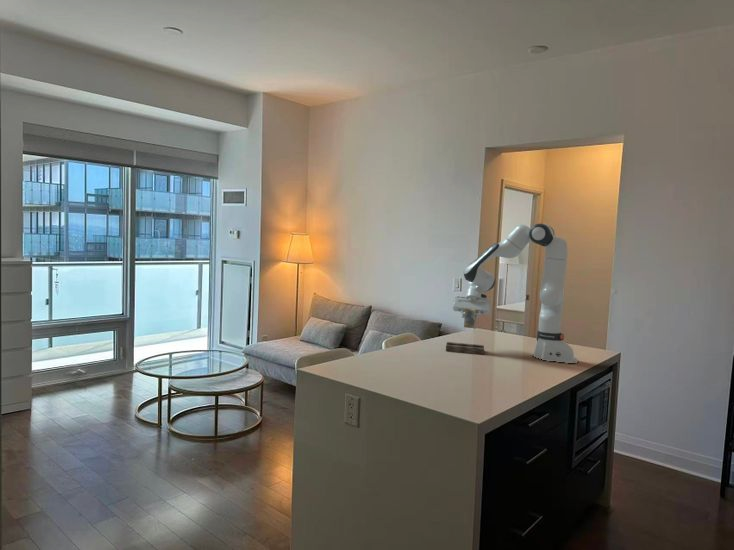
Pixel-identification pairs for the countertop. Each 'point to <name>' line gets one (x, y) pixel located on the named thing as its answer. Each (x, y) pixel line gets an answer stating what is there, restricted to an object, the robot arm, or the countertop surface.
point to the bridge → (465, 348)
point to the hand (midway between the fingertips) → (469, 317)
